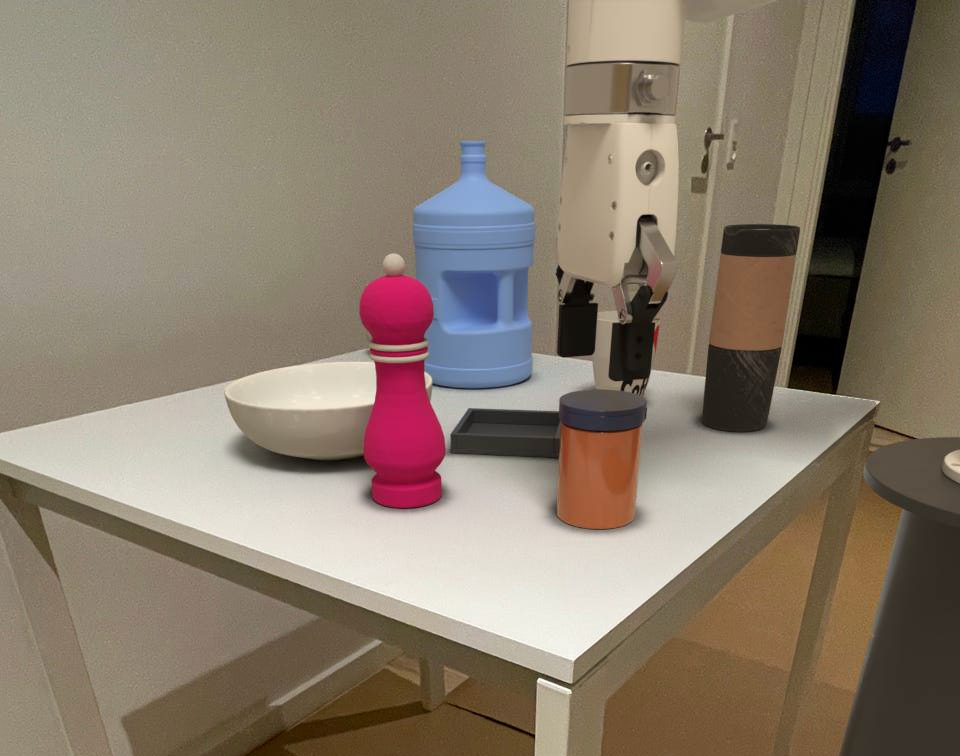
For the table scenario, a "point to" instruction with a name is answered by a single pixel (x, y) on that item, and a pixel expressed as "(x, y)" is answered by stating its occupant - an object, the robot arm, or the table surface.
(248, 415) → the serving bowl
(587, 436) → the jar
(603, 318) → the cup
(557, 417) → the tray
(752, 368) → the travel mug
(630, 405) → the jar lid
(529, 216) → the water jug
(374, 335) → the pepper mill
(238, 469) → the table surface
